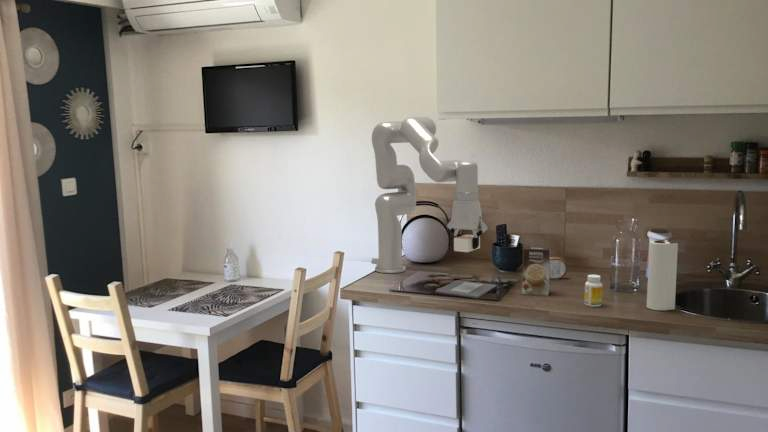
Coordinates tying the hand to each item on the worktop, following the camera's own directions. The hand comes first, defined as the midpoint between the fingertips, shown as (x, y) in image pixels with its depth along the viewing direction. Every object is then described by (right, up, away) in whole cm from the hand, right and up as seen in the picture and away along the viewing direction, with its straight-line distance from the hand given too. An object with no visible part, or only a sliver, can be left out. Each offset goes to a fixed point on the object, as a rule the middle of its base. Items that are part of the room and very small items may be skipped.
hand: (467, 247), depth 229 cm
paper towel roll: (+57, -18, -25) cm, 65 cm away
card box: (0, -1, 0) cm, 1 cm away
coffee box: (+23, -16, -4) cm, 29 cm away
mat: (0, -15, +2) cm, 15 cm away
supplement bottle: (+38, -18, -20) cm, 47 cm away
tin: (+32, -13, +16) cm, 39 cm away
